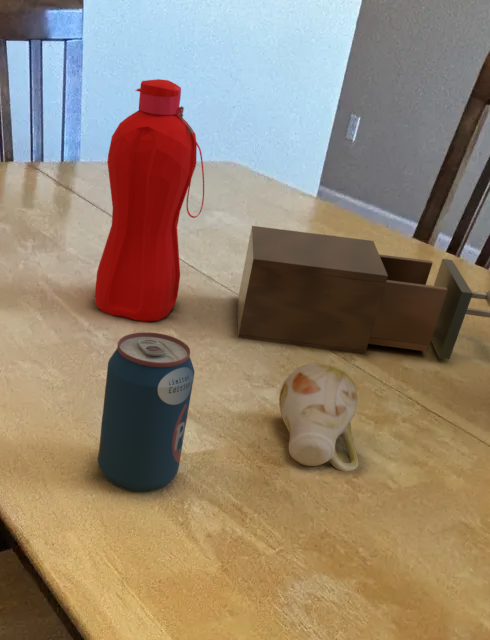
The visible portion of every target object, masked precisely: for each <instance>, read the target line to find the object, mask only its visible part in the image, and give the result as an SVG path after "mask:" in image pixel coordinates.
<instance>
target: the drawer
mask: <svg viewBox="0 0 490 640" xmlns="http://www.w3.org/2000/svg"><path fill="white" fill-rule="evenodd" d="M379 256H380V258H381V260H382V263H383V265H384V268H385V270H386V273H387V275H388V277H387V281H386V284H385V288H384V291H383V294H382V298H381V301H380V305H379V308H378V312H377V315H376V318H375V322H374V325H373V329H372V332H371V336H370V339H369V342H368V345H375V346H382V347H388V348H389V347H390V348H397V349H405V350H412V351H420V352H428V350H429V347H430V345H431V344H432V345H433V348H434V350H435V352H436V355H437V356H438V358H439V359H444V360H450V359H451V358H452V357H451V356H452V354H453V351H454V348H455V345H456V343H457V339H458V337H459V334H460V331H461V328H462V325H463V323H464V321H465V317H466V315H468V316H475V317H482V318H490V310H487V309H479V308H471V307H470V303H471V300H472V299H478V300H485V301H486V303H487V305H488V307H490V290H488V291H486V292H479V291H473V290H471V288H470V287H469V285H468V283H467V281H466V280H465V278H464V277H463V275H462V273H461V271H460V270H459V269H458V267H457V265H456V263H455V262H454V260H453V259H446V258H442V259H441V262H440V265H439V268H438V270H437V274H436V277H435V280H434V283H433V285H431V284H430V285H428V284H427V283H428V279H429V275H430V273H431V270H432V267H433V261H432V260H428V259H427V260H426V259H419V258H411V257H402V256H397V255H395V256H394V255H387V254H380V253H379Z"/></svg>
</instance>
